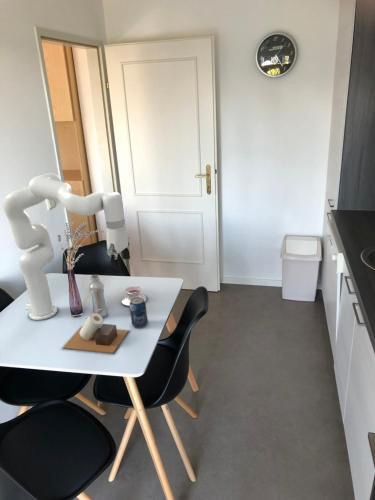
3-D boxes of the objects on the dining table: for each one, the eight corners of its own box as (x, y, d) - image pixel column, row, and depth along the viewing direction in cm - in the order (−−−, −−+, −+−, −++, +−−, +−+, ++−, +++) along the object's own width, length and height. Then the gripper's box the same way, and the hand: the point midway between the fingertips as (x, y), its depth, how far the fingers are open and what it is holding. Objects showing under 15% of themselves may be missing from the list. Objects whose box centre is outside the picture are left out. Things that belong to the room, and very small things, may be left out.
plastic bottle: (105, 319, 190) (99, 279, 182) (91, 319, 191) (84, 279, 184) (110, 312, 195) (104, 273, 188) (97, 311, 197) (90, 273, 190)
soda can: (136, 330, 179) (133, 306, 175) (129, 324, 184) (126, 299, 180) (150, 325, 182) (148, 301, 178) (143, 319, 188) (140, 295, 184)
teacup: (144, 306, 199) (143, 294, 197) (119, 307, 200) (118, 295, 197) (147, 294, 210) (146, 283, 208) (123, 295, 211) (122, 284, 209)
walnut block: (95, 344, 170) (94, 334, 168) (104, 334, 177) (102, 323, 176) (109, 346, 169) (107, 335, 167) (117, 335, 176) (115, 324, 174)
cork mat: (63, 348, 170) (63, 347, 170) (82, 327, 184) (81, 326, 184) (113, 353, 164) (113, 352, 164) (128, 331, 179) (128, 330, 179)
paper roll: (78, 341, 173) (73, 316, 169) (85, 333, 179) (81, 309, 174) (101, 343, 171) (98, 319, 166) (108, 335, 176) (104, 311, 172)
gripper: (117, 217, 177) (122, 255, 183) (96, 230, 162) (102, 271, 168) (133, 217, 174) (138, 256, 180) (113, 231, 159) (119, 272, 165)
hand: (121, 263), depth 174 cm, fingers open, 9 cm apart
